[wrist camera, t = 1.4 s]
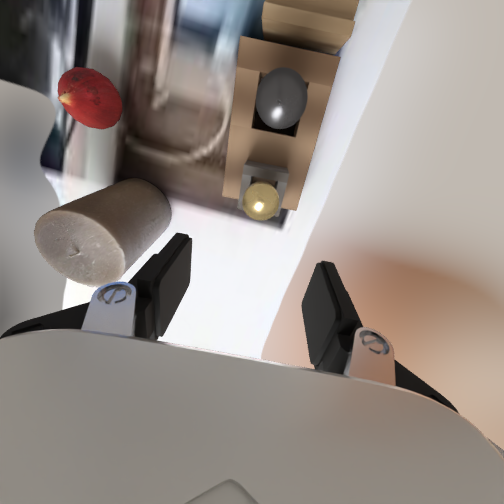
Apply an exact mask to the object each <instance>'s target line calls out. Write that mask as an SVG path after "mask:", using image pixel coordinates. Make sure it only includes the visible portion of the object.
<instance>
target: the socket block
mask: <svg viewBox="0 0 504 504" xmlns="http://www.w3.org/2000/svg"><path fill="white" fill-rule="evenodd" d="M340 58H341V57H338V56H333V55H328V54H324V53H319V52H314V51H310V50H305V49H300V48H296V47H291V46H286V45H281V44H277V43H272V42H267V41H263V40H258V39H253V38H248V37H244V36H240V43H239V52H238V61H237V70H236V78H235V87H234V96H233V105H232V114H231V123H230V132H229V141H228V150H227V159H226V167H225V176H224V185H223V194H222V196H224V197H229V198H234V199H239V201H238V207H237V209H242V210H244V209H243V205H242V199H243V196H244V193H245V191H246V189H247V188H248V187H249V186H250V185H251V184H253V183H255V182H267V183H269V184H271V185H272V186H274V187H275V189H276V190H277V192H278V196H279V207H278V210H277V212H276V213H275V214H274V215H273V216H277V217H279V213H280V209H281V208H285V209H290V210H295V211H296V210H297V207H298V203H299V200H300V196H301V193H302V189H303V186H304V182H305V179H306V175H307V172H308V169H309V165H310V162H311V158H312V155H313V151H314V148H315V144H316V141H317V137H318V134H319V130H320V127H321V123H322V120H323V117H324V113H325V110H326V106H327V103H328V99H329V96H330V92H331V89H332V85H333V82H334V78H335V75H336V71H337V68H338V64H339V61H340ZM280 67H286V68H291V69H293V70H295V71H296V72H298V73H299V74H300V75H301V77H302V78H303V80H304V82H305V84H306V87H307V93H308V98H307V105H306V108H305V111H304V113H303V115H302V116H301V118H300V119H299V120H298V121H297V122H296V125H295V129H294V134H293V136H291V135H286V134H281V133H276V132H271V131H267V130H262V129H257V128H254V122H255V116H256V109H257V107H256V94H257V89H258V86H259V84H260V82H261V78H262V79H263V78H264V77H265V76H266V75H267V74H268V73H269V72H270V71H272V70H274V69H276V68H280Z"/></svg>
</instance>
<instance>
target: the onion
mask: <svg viewBox="0 0 504 504" xmlns="http://www.w3.org/2000/svg"><path fill="white" fill-rule="evenodd" d="M58 94H59V97H58V99H59V101H60V102H61V103H62V105H63V106H64V108H65V110H66V111H67V112H68V113H69V114H70V115H71V116H72V117H73V118H74V119H75V120H77V121H79V122H80V123H82V124H84V125H86V126H88V127H91V128H97V129H106V128H109V127H112V126H114V125H115V124H116V123H117V122H118V121H119V120H120V117H121V113H122V101H121V98H120V96H119V93H118V91H117V89H116V88H115V87H114V85H113V84H112V83H111V81H110V80H109V79H108V78H107V77H105V76H104V75H102V74H101V73H99V72H97V71H95V70H94V69H89V68H80V67H75V68H73V69H71V70H69V71H67V72H65V73H64V74H63V75H62V77H61V78H60V80H59V82H58Z"/></svg>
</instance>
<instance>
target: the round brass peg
mask: <svg viewBox="0 0 504 504" xmlns="http://www.w3.org/2000/svg"><path fill="white" fill-rule="evenodd" d="M242 205H243V209H244V211H245V212H246V214H247V215H248V216H249V217H251V218H253V219H255V220H266V219H269V218H271V217H272V216H273V215H274V214H275V213H276V212H277V210H278V207H279V196H278V192H277V190H276V189H275V187H274V186H272V185H271V184H269V183H267V182H255V183H253V184H251V185H250V186H249V187H248V188H247V189H246V191H245V193H244V196H243V199H242Z"/></svg>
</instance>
